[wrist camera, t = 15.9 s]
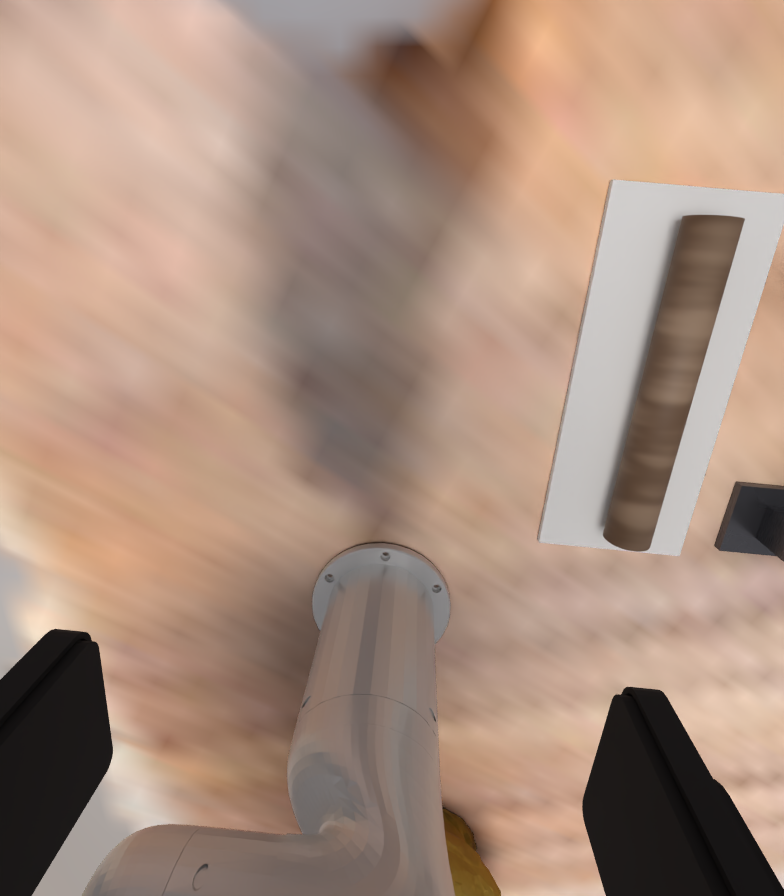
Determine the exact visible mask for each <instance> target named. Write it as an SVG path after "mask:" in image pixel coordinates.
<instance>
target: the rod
mask: <svg viewBox="0 0 784 896" xmlns="http://www.w3.org/2000/svg"><path fill="white" fill-rule="evenodd" d="M744 221H745V218H741V217H734V216H723V215H686V216H682V220H681V224H680V228H679V232H678V236H677V240H676V244H675V248H674V252H673V256H672V260H671V264H670V268H669V272H668V276H667V280H666V284H665V288H664V292H663V296H662V300H661V304H660V307H659V311H658V315H657V319H656V323H655V327H654V331H653V335H652V339H651V343H650V347H649V351H648V355H647V359H646V363H645V367H644V371H643V375H642V379H641V383H640V387H639V391H638V395H637V399H636V403H635V407H634V411H633V415H632V419H631V423H630V427H629V431H628V435H627V439H626V443H625V447H624V451H623V455H622V459H621V463H620V467H619V471H618V475H617V479H616V483H615V487H614V491H613V495H612V499H611V503H610V507H609V511H608V515H607V519H606V523H605V527H604V531H603V537H604V538H605V539H606V540H607V541H608V542H609V543H611V544H612V545H614V546H616V547H619V548H622V549H625V550H629V551H636V552H642V551H646V550H648V549H649V548H650V546H651V543H652V539H653V536H654V532H655V529H656V525H657V522H658V518H659V515H660V511H661V508H662V504H663V501H664V498H665V494H666V491H667V487H668V484H669V480H670V477H671V473H672V470H673V466H674V463H675V459H676V456H677V453H678V449H679V446H680V442H681V439H682V435H683V432H684V428H685V425H686V421H687V418H688V414H689V411H690V408H691V404H692V401H693V397H694V394H695V390H696V387H697V383H698V380H699V376H700V373H701V370H702V366H703V363H704V359H705V356H706V352H707V349H708V345H709V342H710V338H711V335H712V331H713V328H714V325H715V321H716V318H717V314H718V311H719V307H720V304H721V300H722V297H723V293H724V290H725V286H726V283H727V280H728V276H729V273H730V269H731V266H732V262H733V259H734V255H735V252H736V248H737V245H738V241H739V238H740V235H741V231H742V228H743V224H744Z"/></svg>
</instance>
